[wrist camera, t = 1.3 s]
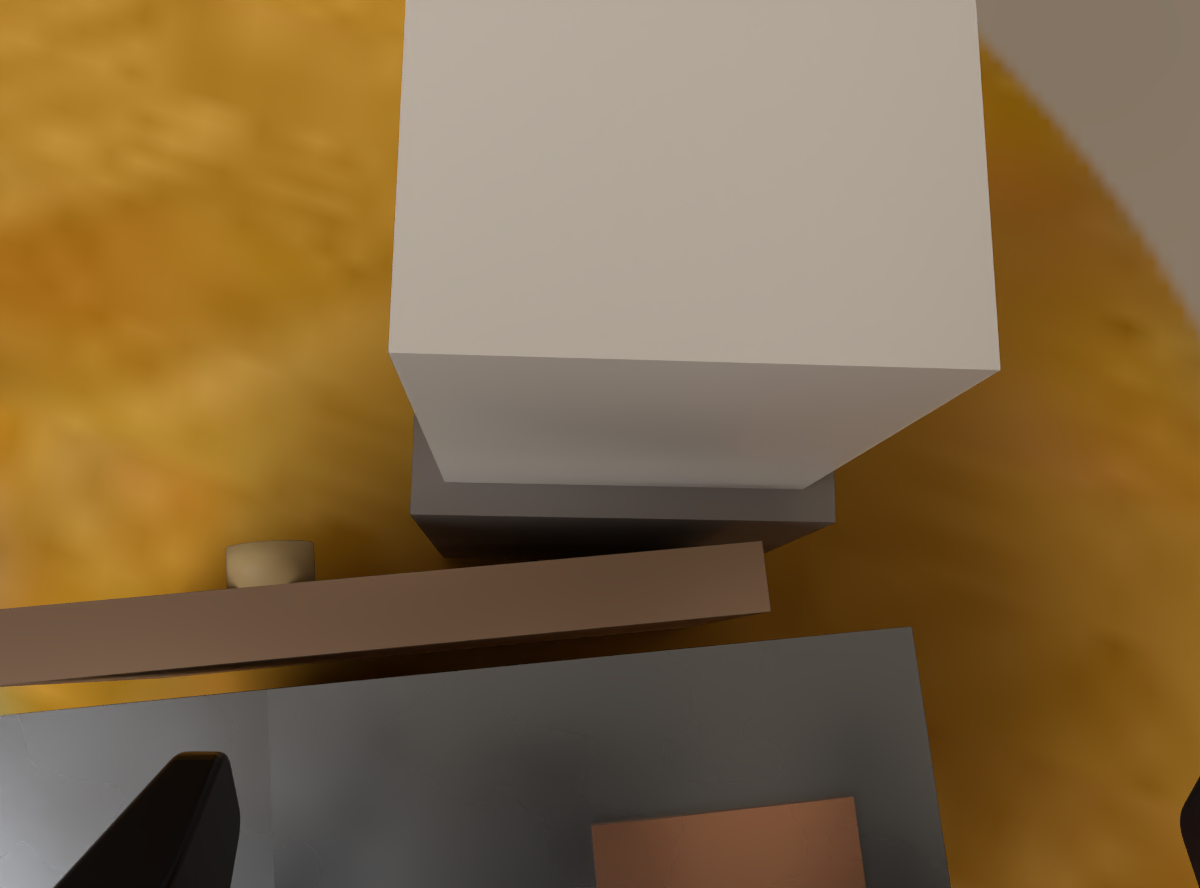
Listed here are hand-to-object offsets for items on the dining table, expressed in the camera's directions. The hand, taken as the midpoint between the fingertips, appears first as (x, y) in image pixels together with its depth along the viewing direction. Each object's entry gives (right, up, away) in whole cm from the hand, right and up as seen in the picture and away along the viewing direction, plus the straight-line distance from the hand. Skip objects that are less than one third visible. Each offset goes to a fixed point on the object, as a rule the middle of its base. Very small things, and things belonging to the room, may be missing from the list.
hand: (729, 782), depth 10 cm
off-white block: (-1, +5, +7) cm, 9 cm away
